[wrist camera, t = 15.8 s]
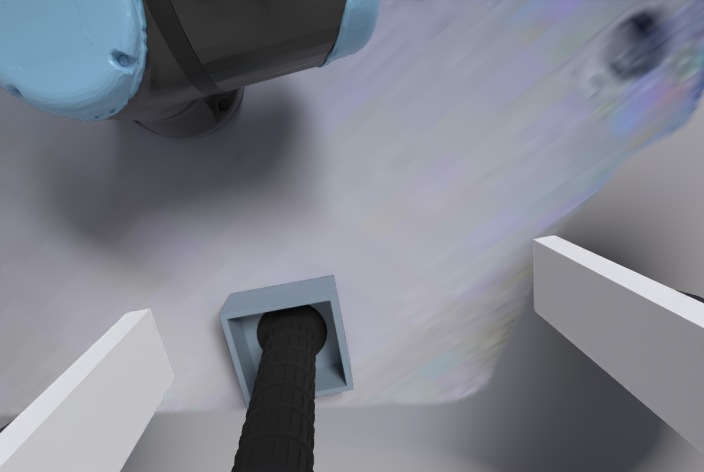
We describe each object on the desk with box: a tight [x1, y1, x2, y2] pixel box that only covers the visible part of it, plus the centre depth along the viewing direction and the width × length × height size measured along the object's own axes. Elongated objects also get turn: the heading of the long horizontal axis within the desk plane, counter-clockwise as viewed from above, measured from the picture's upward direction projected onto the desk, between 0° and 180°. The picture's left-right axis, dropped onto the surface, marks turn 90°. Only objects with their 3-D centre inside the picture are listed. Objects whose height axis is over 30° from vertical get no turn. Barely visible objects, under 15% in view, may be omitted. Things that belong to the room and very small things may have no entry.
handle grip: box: [231, 304, 328, 472], centre depth 40 cm, size 10×26×10 cm
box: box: [219, 275, 354, 410], centre depth 51 cm, size 15×15×6 cm
